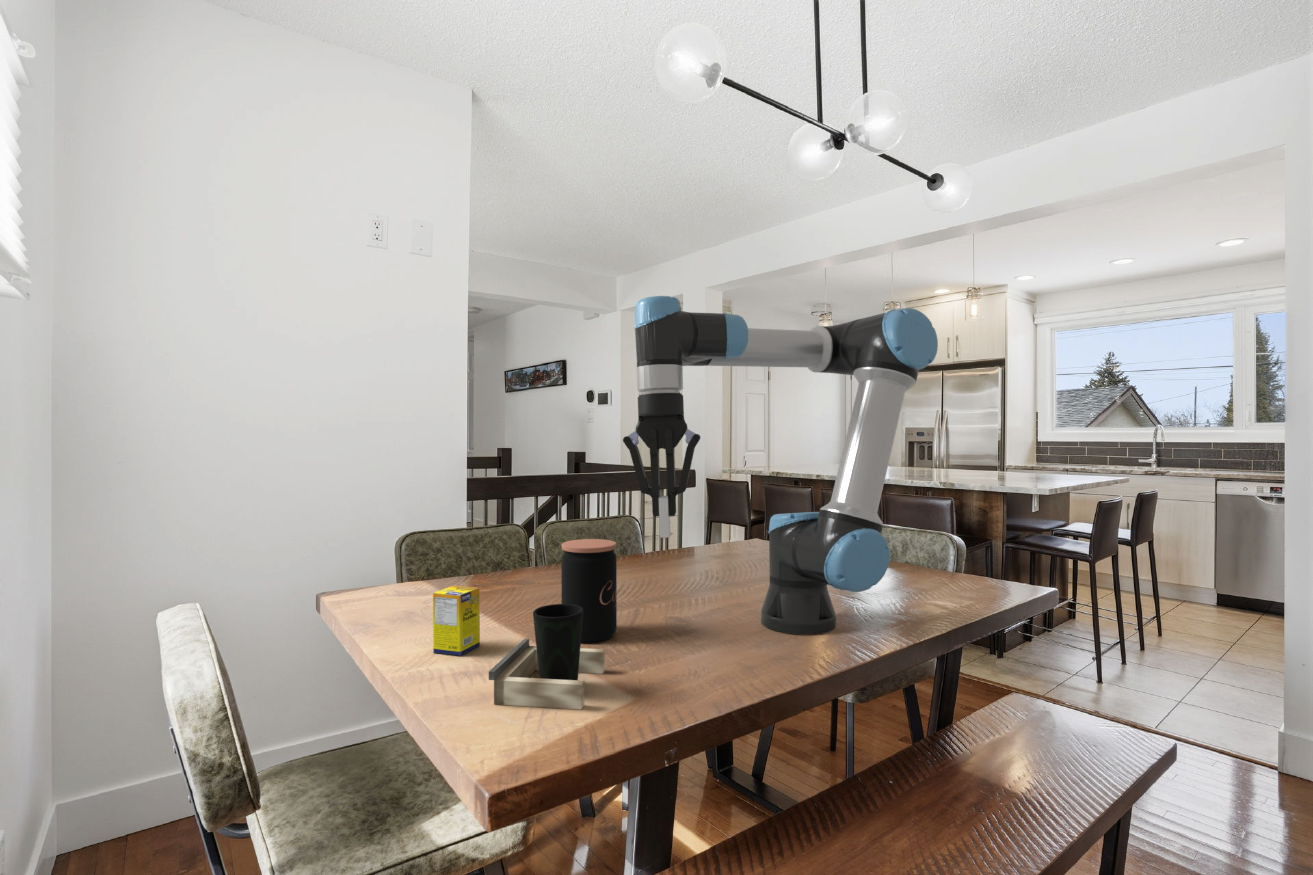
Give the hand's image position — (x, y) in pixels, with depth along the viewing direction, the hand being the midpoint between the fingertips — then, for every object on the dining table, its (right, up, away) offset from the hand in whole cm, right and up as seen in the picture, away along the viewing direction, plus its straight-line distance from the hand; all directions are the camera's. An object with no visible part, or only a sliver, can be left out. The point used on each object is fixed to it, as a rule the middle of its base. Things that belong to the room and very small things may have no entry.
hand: (665, 535), depth 103 cm
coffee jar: (-15, -23, +19) cm, 33 cm away
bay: (-17, -22, -6) cm, 29 cm away
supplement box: (-38, -23, +11) cm, 45 cm away
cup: (-16, -23, -7) cm, 29 cm away
